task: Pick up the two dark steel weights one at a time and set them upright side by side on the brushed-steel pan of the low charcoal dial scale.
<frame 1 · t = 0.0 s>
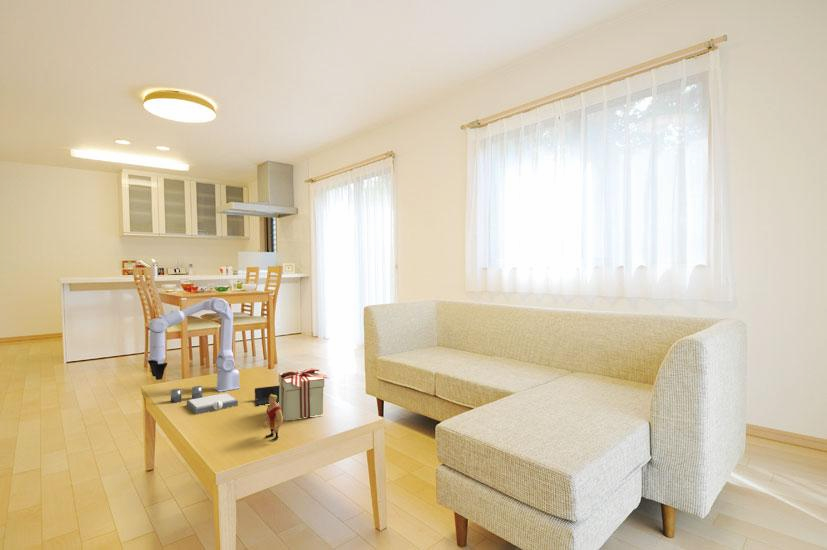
hand: (157, 377, 175), 10 cm above the table, tool pointing down, fingers open, 7 cm apart
steel weight 2: (197, 398, 179), on the table
handheld gaming console: (268, 402, 175), on the table
steel weight 1: (176, 401, 175), on the table
gift box: (303, 414, 160), on the table
action figure: (272, 438, 136), on the table
dial scale: (212, 405, 169), on the table
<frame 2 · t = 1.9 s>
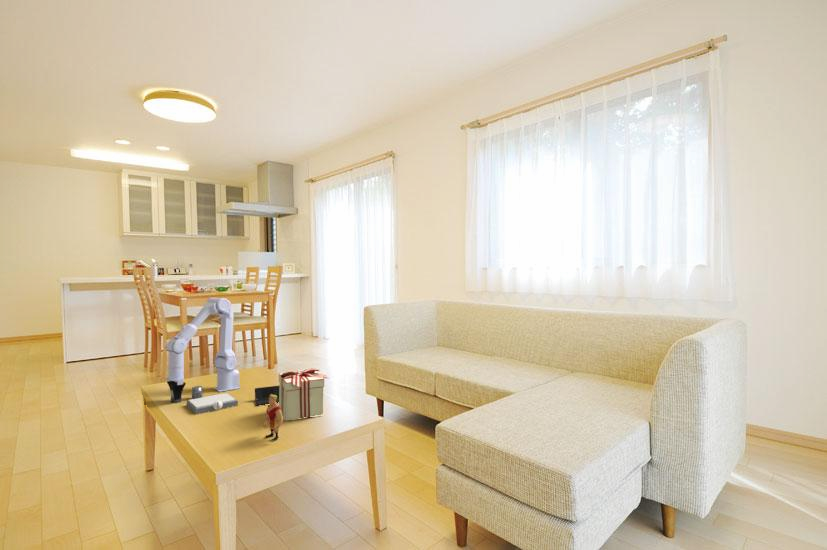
hand: (176, 398, 175), 1 cm above the table, tool pointing down, fingers closed on steel weight 1, 4 cm apart
steel weight 1: (176, 401, 175), on the table, touching gripper
everything else where it was.
when the fingers open (5 cm above the table, at t = 6.0 s): steel weight 1 drops 1 cm, resting on dial scale.
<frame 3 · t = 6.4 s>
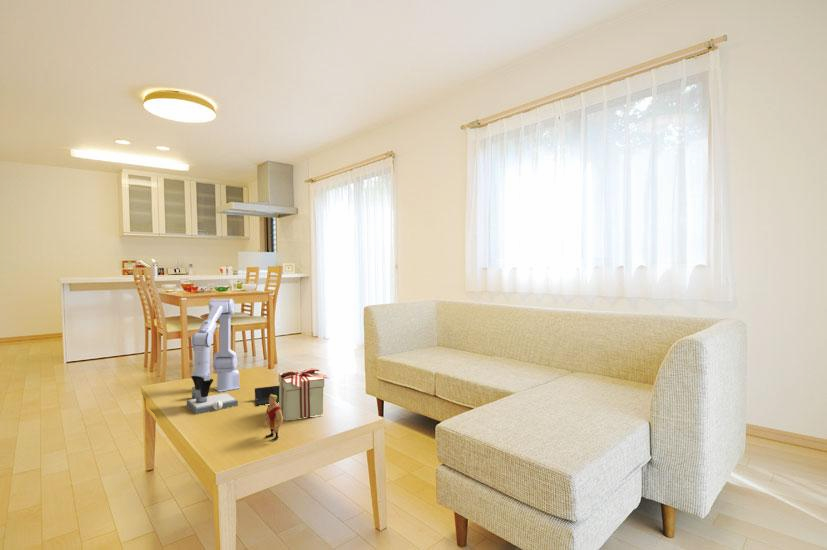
hand: (201, 394, 167), 5 cm above the table, tool pointing down, fingers open, 7 cm apart
steel weight 1: (201, 401, 167), point 2 cm above the table, touching dial scale
everything else where it was.
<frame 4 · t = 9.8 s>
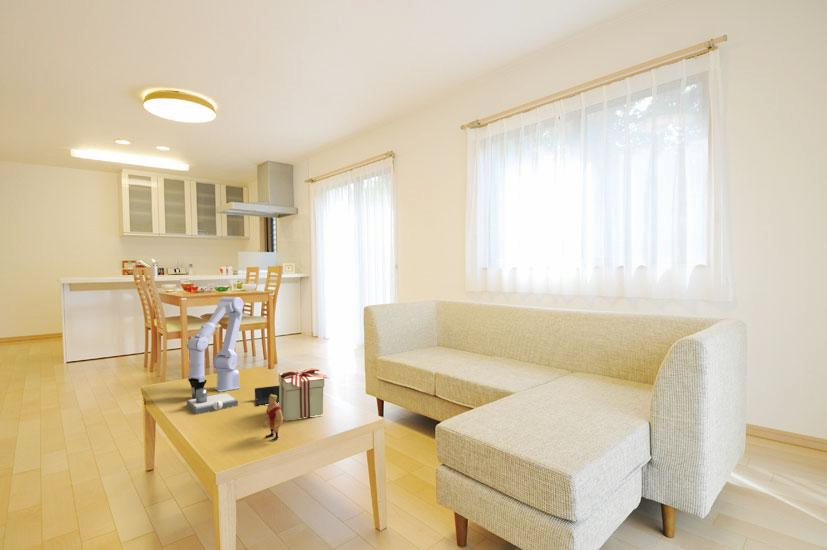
hand: (197, 395, 179), 1 cm above the table, tool pointing down, fingers closed on steel weight 2, 4 cm apart
steel weight 2: (197, 398, 179), on the table, touching gripper
everything else where it was.
when the fingers open (5 cm above the table, at t = 13.8 s): steel weight 2 drops 1 cm, resting on dial scale.
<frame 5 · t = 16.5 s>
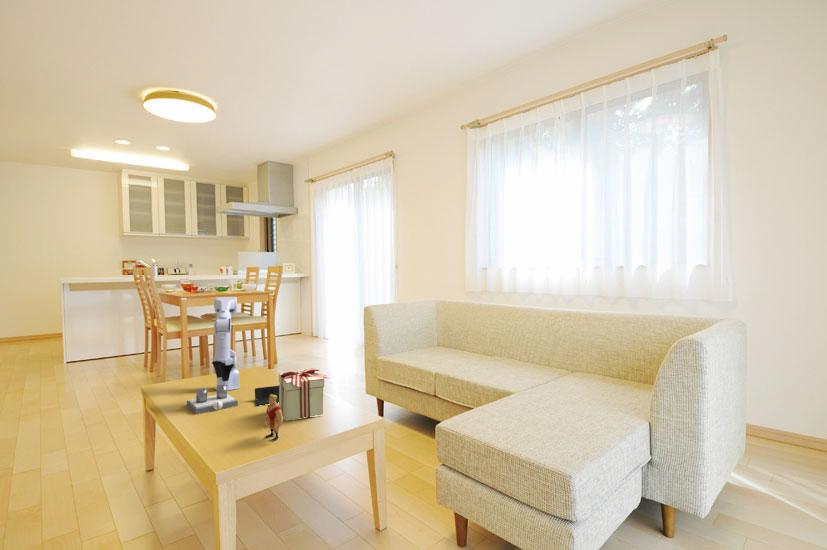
hand: (222, 379, 172), 10 cm above the table, tool pointing down, fingers open, 7 cm apart
steel weight 2: (221, 397, 172), point 2 cm above the table, touching dial scale
everything else where it was.
at the end: steel weight 1 inside the target area on the dial scale (4.1 cm from its centre), point 2.6 cm above the dial scale's base; steel weight 2 inside the target area on the dial scale (3.8 cm from its centre), point 2.5 cm above the dial scale's base; the gripper is holding nothing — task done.
